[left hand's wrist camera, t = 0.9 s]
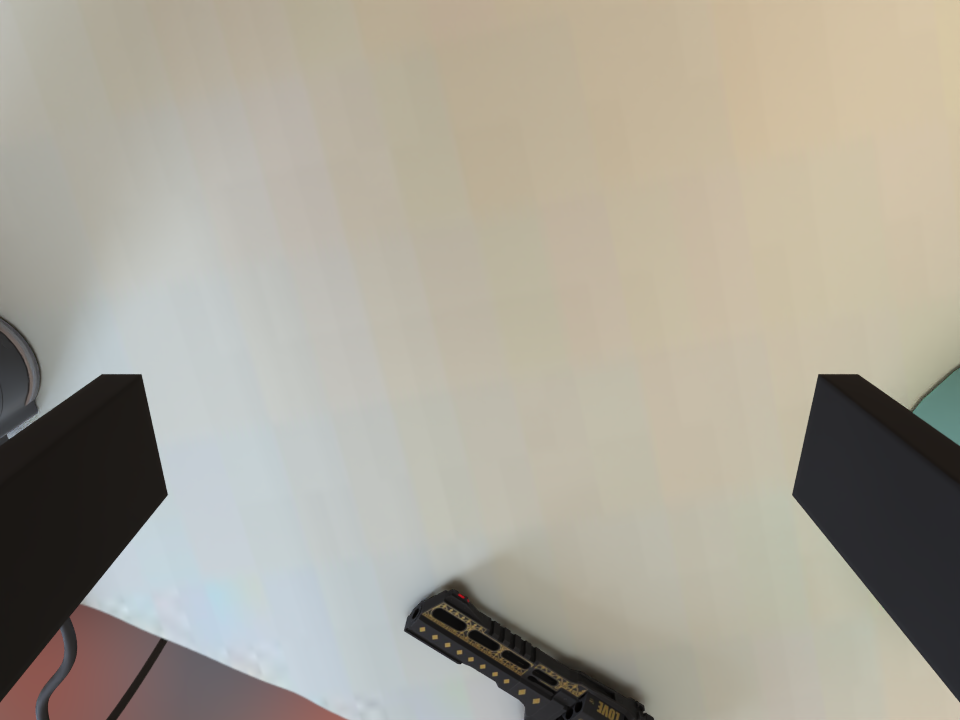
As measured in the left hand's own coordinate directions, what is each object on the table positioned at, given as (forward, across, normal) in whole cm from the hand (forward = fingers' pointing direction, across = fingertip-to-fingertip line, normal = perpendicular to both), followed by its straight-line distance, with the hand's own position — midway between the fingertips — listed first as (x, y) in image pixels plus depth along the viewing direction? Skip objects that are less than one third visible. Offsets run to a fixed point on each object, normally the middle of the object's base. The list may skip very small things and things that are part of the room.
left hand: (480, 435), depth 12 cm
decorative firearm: (+33, +4, -46) cm, 57 cm away
